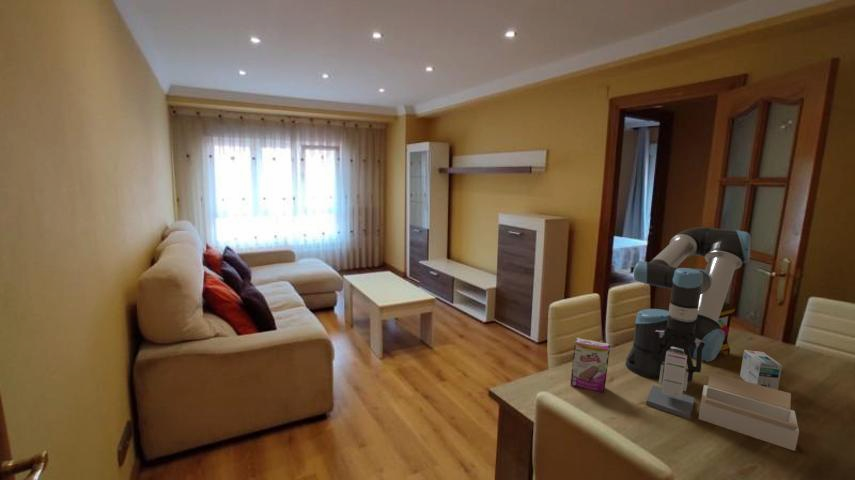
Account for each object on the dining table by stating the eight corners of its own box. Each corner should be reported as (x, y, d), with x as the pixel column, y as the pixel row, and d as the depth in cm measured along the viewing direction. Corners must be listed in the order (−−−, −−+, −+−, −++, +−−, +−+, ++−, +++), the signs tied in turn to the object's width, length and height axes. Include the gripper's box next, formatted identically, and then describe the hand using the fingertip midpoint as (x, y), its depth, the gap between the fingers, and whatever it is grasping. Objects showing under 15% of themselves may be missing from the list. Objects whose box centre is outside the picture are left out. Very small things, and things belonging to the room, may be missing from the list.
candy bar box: (570, 386, 138) (574, 342, 135) (571, 379, 143) (575, 336, 140) (605, 394, 134) (610, 349, 131) (605, 387, 138) (610, 343, 135)
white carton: (697, 425, 118) (701, 396, 116) (702, 396, 134) (706, 370, 132) (796, 459, 105) (803, 427, 103) (789, 422, 120) (795, 394, 119)
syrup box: (682, 399, 124) (688, 356, 122) (660, 393, 127) (666, 351, 125) (681, 391, 129) (688, 349, 126) (661, 385, 132) (667, 345, 130)
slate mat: (645, 404, 128) (646, 400, 128) (652, 389, 137) (652, 385, 137) (689, 419, 121) (690, 415, 121) (693, 401, 130) (694, 397, 130)
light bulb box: (778, 394, 136) (783, 365, 134) (755, 391, 137) (761, 362, 135) (759, 378, 146) (764, 351, 144) (738, 376, 147) (743, 349, 146)
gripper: (645, 313, 127) (637, 380, 131) (719, 329, 115) (707, 401, 119) (650, 307, 132) (641, 371, 137) (720, 321, 121) (708, 391, 125)
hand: (672, 385), depth 128 cm, fingers closed on syrup box, 6 cm apart
